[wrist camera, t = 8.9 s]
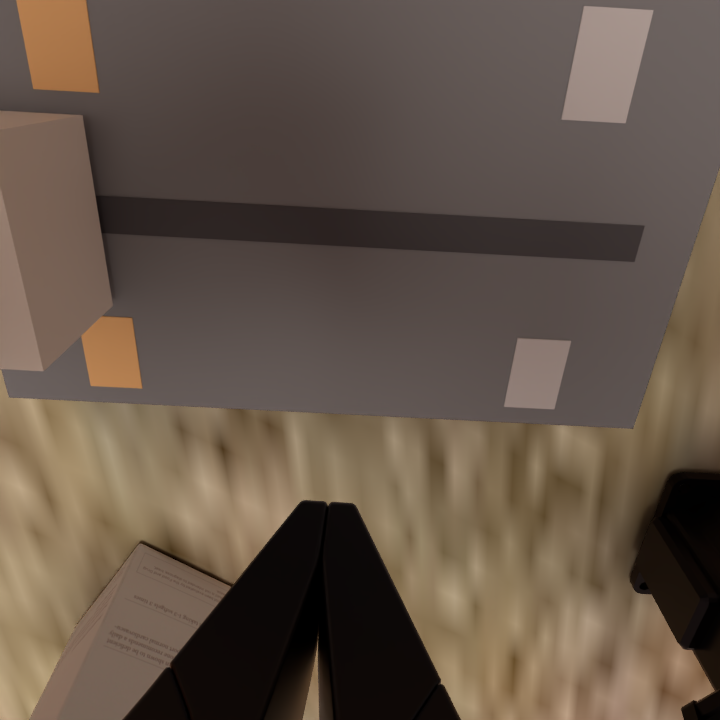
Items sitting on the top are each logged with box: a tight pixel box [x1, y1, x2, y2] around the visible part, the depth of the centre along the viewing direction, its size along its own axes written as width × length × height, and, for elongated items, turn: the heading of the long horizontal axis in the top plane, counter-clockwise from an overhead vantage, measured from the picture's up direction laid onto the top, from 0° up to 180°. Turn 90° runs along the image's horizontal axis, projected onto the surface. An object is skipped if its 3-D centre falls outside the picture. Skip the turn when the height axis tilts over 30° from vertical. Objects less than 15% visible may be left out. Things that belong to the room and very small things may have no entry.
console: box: [0, 0, 720, 429], centre depth 17 cm, size 20×12×3 cm, turn 87°
